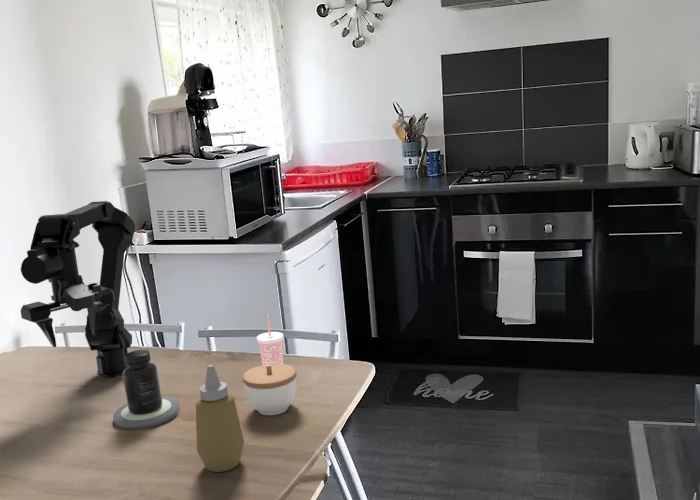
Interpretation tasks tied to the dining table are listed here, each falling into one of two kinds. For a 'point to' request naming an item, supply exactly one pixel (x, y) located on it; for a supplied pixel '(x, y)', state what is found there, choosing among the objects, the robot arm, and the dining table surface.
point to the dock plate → (146, 416)
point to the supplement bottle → (141, 383)
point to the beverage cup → (271, 346)
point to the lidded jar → (270, 387)
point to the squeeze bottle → (217, 425)
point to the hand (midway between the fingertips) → (74, 340)
